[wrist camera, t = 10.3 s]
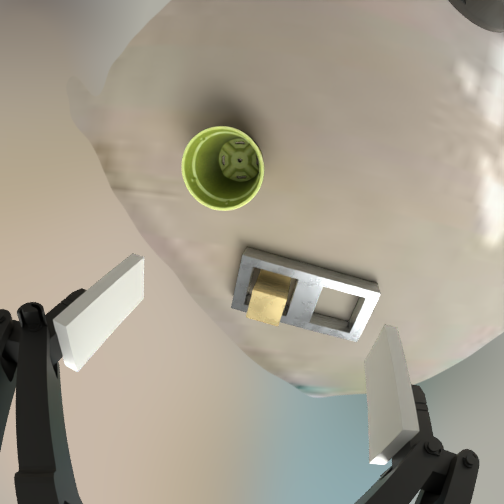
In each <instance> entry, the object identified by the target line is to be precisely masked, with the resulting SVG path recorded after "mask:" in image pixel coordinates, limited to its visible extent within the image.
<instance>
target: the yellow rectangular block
mask: <svg viewBox="0 0 504 504" xmlns="http://www.w3.org/2000/svg"><path fill="white" fill-rule="evenodd" d="M290 282H291V277H288V276H284V275H281V274H277V273H274V272H270V271H267V270H263V269H261V271H260V274H259V276H258V279H257V281H256V284H255V286H254V289H253V292H252V296H251V299H250V303H249V307H248V311H247V315H246V317H247V318H250V319H254V320H257V321H261V322H264V323H267V324H271V325H274V326H278V325H279V322H280V319H281V316H282V313H283V310H284V307H285V304H286V301H287V297H288V292H289V287H290Z"/></svg>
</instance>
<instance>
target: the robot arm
mask: <svg viewBox="0 0 504 504" xmlns="http://www.w3.org/2000/svg"><path fill="white" fill-rule="evenodd" d="M449 1H450V2H451V4H452V5H453V6H454V7H455V8H456V9H457V10H458V11H459V12H460V13H461V14H462V15H464V16H465V17H466V18H467V19H469V20H470V21H471V22H473V23H474V24H476V25H478V26H480V27H482V28H484V29H486V30H489V31H493V32H504V0H449ZM143 298H144V257H143V256H140V255H136V254H131V255H130V256H129V257H127V258H126V259H125V260H123V261H122V262H121V263H120V264H119V265H117V266H116V267H115V268H113V269H112V270H111V271H110V272H108V273H107V274H106V275H105V276H104V277H103V278H101V279H100V280H99V281H98V282H96V283H95V284H94V285H93V286H91V287H90V288H89V289H88V290H85V289H79V290H77V291H74V292H72V293H71V294H70V295H69V296H68V297H67V298H66V299H64V300H63V301H61V303H59V304H58V305H57V306H55V307H54V308H53V309H52V310H51V311H50V312H48V313H47V314H46V315H45V313H44V309H43V306H42V305H41V304H39V303H36V302H30V303H26V304H24V305H22V306H21V307H20V308H19V309H18V311H17V314H18V318H19V321H16V320H12V317H11V314H10V312H9V311H7V310H4V309H0V450H1V445H2V440H3V435H4V431H5V426H6V422H7V418H8V414H9V410H10V406H11V402H12V399H13V395H14V392H15V388H16V435H17V450H18V462H19V471H18V472H17V473H15V477H14V480H15V489H16V496H17V501H18V504H83V503H82V501H81V499H80V497H79V494H78V491H77V487H76V483H75V478H74V474H73V469H72V465H71V460H70V454H69V449H68V443H67V437H66V430H65V423H64V415H63V406H62V396H61V384H60V369H59V363H58V361H59V360H60V359H61V358H62V357H63V360H64V363H65V365H66V366H68V367H69V368H71V369H73V370H74V371H76V372H78V371H79V370H80V369H81V368H82V367H83V365H84V364H85V363H86V362H87V361H88V359H89V358H90V357H91V356H92V355H93V354H94V352H96V350H97V349H98V348H99V347H100V346H101V345H102V344H103V343H104V341H105V340H106V339H107V338H108V337H109V336H110V334H112V332H113V331H114V330H115V329H116V328H117V327H118V326H119V325H120V324H121V323H122V321H123V320H124V319H125V318H126V317H127V316H128V315H129V314H130V313H131V312H132V310H133V309H134V308H135V307H136V306H137V305H138V304H139V303H140V302H141V301H142V300H143ZM364 363H365V375H366V389H367V405H368V424H369V425H368V426H369V463H372V464H386V463H387V462H388V461H389V460H390V459H391V458H392V466H391V467H390V468H389V469H388V470H387V471H385V472H384V473H383V474H382V475H381V478H380V479H379V480H378V481H377V482H376V483H375V484H374V485H373V486H372V487H371V488H370V489H369V490H368V491H367V492H366V493H365V494H364V495H363V496H362V497H361V498H360V499H359V500H358V501H357V502H356V503H355V504H409V503H410V502H411V500H412V499H413V498H414V496H415V495H416V494H417V493H418V491H419V490H420V489H421V490H420V492H419V495H418V497H417V500H416V502H415V504H470V503H471V499H472V495H473V491H474V487H475V483H476V479H477V474H478V469H479V459H478V456H477V455H476V454H475V453H474V452H473V451H472V450H469V449H465V450H462V451H461V452H459V453H458V454H454V453H451V452H449V451H446V450H444V449H443V445H442V443H441V442H440V441H439V440H438V439H437V438H435V437H434V436H433V432H432V427H431V422H430V417H429V412H428V407H427V405H426V398H425V394H424V393H423V391H422V389H421V388H420V386H417V385H411V382H410V377H409V373H408V368H407V364H406V360H405V355H404V351H403V347H402V343H401V339H400V336H399V332H398V328H397V327H394V326H390V325H386V324H385V325H384V327H383V328H382V330H381V332H380V334H379V336H378V338H377V340H376V342H375V344H374V345H373V347H372V349H371V351H370V353H369V354H368V356H367V358H366V360H365V361H364Z"/></svg>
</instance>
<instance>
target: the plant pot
mask: <svg viewBox="0 0 504 504" xmlns="http://www.w3.org/2000/svg"><path fill="white" fill-rule="evenodd" d="M240 141H242V142H244V143H245V144H235V142H240ZM223 155H224V156H225V165H223V164H222V157H223ZM256 155H257V157H258V161H259V164H258V165H256V161H257V158H256ZM238 159H241V160H242V161H241V162H238ZM182 176H183V179H184V182H185V185H186V187H187V189H188V190H189V192H190V193H191V195H192V196H193V197H194V198H195V199H196V200H197V201H198V202H200V203H201V204H202V205H204V206H206V207H208V208H211V209H214V210H221V211H228V210H234V209H237V208H240V207H242V206H243V205H245V204H247V203H248V202H249V201H250V200H252V199H253V197H254V196H255V195H256V194H257V192H258V191H259V189H260V187H261V184H262V181H263V177H264V162H263V157H262V153H261V151H260V149H259V147H258V146H257V145H256V144H255V142H254V141H253V140H252V139H251V138H250V137H249V136H248V135H246V134H245V133H244V132H242V131H240V130H238V129H235V128H232V127H227V126H216V127H211V128H208V129H205V130H203V131H201V132H199V133H198V134H197V135H196V136H195V137H193V139H192V140H191V141H190V142H189V143H188V145H187V147H186V149H185V151H184V154H183V157H182ZM236 176H246V177H245V178H243V179H239V178H237V177H236Z"/></svg>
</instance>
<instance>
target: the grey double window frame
mask: <svg viewBox="0 0 504 504" xmlns="http://www.w3.org/2000/svg"><path fill="white" fill-rule="evenodd" d="M255 267H256V268H260V269H263V270H267V271H270V272H274V273H277V274H281V275H284V276H288V277H292V278H295V279H297V281H296V284H295V287H294V290H293V294H292V297H291V300H290V303H289V306H288V305H285V307H284V310H283V313H282V316H281V319H280V322H282V323H285V324H289V325H293V326H296V327H300V328H304V329H308V330H311V331H315V332H319V333H323V334H327V335H331V336H335V337H339V338H343V339H347V340H351V341H355V342H357V341H358V339H359V337H360V335H361V333H362V331H363V329H364V327H365V325H366V323H367V321H368V319H369V317H370V315H371V313H372V311H373V309H374V307H375V305H376V303H377V300H378V298H379V296H380V294H381V293H380V290H379V287H378V284H377V283H374V282H371V281H367V280H364V279H360V278H356V277H353V276H349V275H346V274H342V273H339V272H335V271H332V270H328V269H325V268H321V267H317V266H314V265H310V264H307V263H303V262H300V261H296V260H292V259H289V258H285V257H282V256H278V255H275V254H271V253H267V252H264V251H260V250H257V249H253V248H250V247H247V248H246V250H245V251H244V253H243V255H242V259H241V264H240V269H239V273H238V278H237V282H236V287H235V292H234V296H233V301H232V306H231V308H233V309H237V310H240V311H243V312H247V311H248V307H249V303H250V299H251V296H252V295H249V294H248V293H249V289H250V285H251V281H252V276H253V272H254V268H255ZM323 286H324V287H328V288H331V289H335V290H338V291H342V292H346V293H349V294H353V295H357V296H360V298H359V300H358V302H357V305H356V307H355V309H354V311H353V314H352V316H351V318H350V320H349V322H347V321H344V320H340V319H336V318H332V317H328V316H324V315H321V314H317V313H313V312H314V309H315V306H316V304H317V301H318V298H319V296H320V293H321V290H322V288H323Z"/></svg>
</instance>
